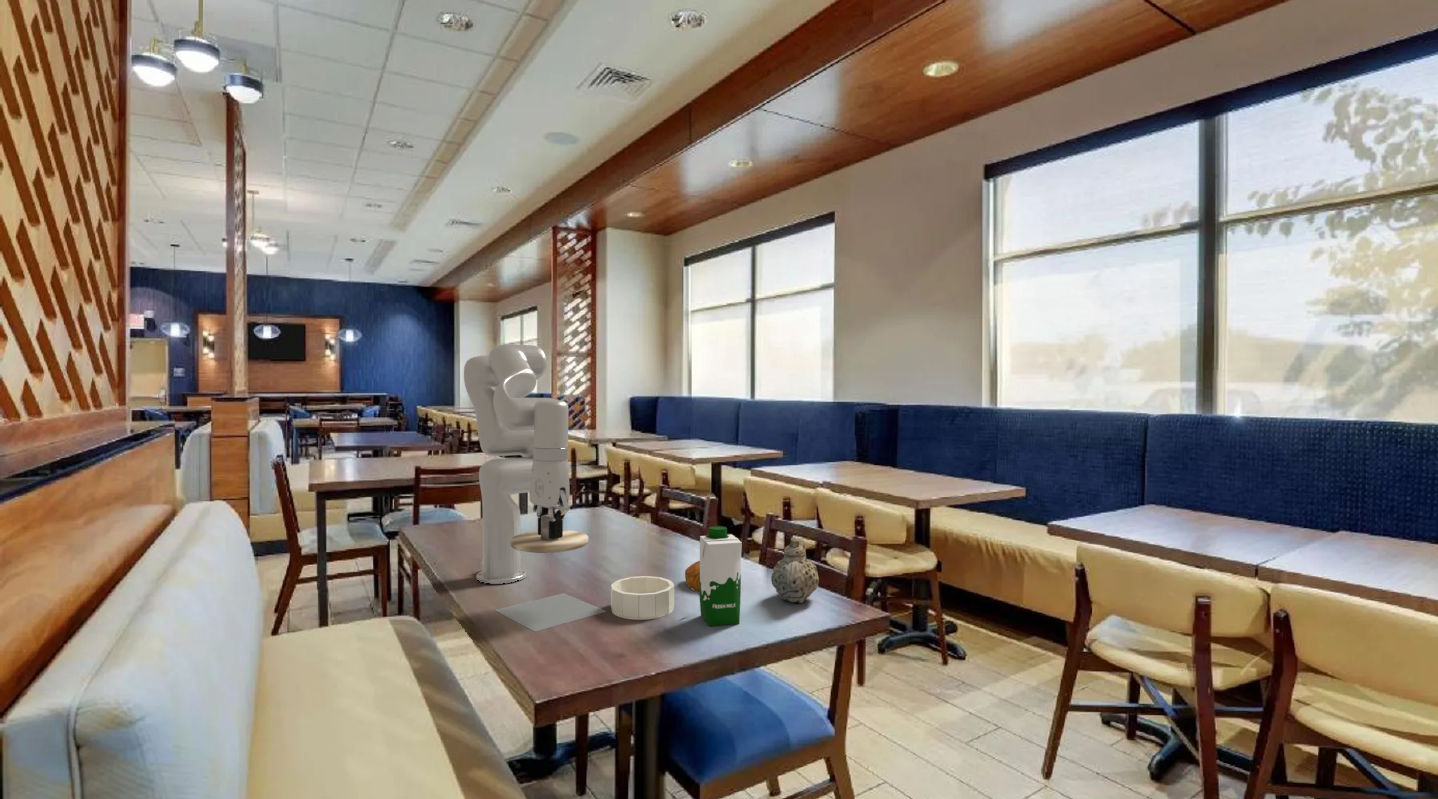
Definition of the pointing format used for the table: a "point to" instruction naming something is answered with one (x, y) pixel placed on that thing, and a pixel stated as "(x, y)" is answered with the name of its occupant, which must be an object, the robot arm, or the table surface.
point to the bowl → (642, 597)
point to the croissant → (693, 576)
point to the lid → (548, 540)
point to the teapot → (795, 573)
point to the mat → (549, 611)
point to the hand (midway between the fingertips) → (550, 535)
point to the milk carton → (720, 577)
